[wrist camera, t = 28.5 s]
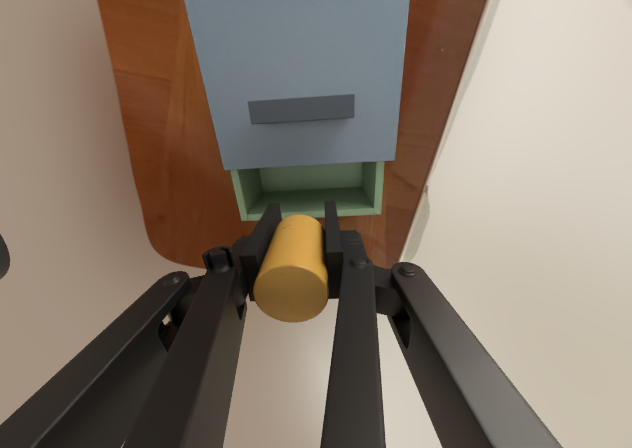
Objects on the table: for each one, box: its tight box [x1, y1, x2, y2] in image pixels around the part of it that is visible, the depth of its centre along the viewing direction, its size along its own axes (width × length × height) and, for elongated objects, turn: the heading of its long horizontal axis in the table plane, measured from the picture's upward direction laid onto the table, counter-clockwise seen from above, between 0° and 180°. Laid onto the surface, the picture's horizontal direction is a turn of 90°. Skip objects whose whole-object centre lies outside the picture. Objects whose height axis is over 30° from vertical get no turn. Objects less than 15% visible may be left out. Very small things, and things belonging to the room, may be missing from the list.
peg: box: [253, 215, 329, 322], centre depth 12 cm, size 3×3×5 cm
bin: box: [230, 161, 385, 221], centre depth 26 cm, size 16×15×9 cm
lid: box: [184, 0, 409, 170], centre depth 17 cm, size 17×16×4 cm
